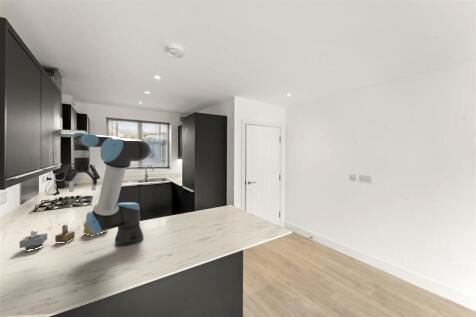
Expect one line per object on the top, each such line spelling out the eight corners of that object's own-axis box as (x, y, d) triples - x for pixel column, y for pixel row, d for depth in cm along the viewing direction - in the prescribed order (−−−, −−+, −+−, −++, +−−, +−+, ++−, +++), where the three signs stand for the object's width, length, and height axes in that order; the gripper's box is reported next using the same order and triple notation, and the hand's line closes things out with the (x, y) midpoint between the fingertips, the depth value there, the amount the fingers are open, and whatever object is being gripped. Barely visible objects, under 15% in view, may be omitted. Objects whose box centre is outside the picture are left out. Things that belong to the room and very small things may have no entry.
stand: (74, 239, 125) (74, 223, 125) (66, 243, 118) (65, 226, 118) (64, 239, 124) (64, 223, 125) (55, 243, 118) (55, 227, 118)
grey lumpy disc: (47, 238, 118) (47, 233, 118) (42, 244, 111) (42, 237, 111) (26, 242, 114) (26, 236, 114) (19, 248, 106) (19, 241, 106)
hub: (46, 245, 116) (45, 228, 116) (34, 251, 109) (33, 233, 109) (34, 246, 115) (33, 229, 116) (21, 251, 108) (21, 233, 109)
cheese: (83, 234, 132) (82, 220, 132) (100, 229, 142) (100, 215, 142) (91, 237, 127) (90, 221, 127) (108, 231, 137) (108, 217, 137)
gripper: (105, 156, 127) (106, 189, 127) (66, 158, 126) (67, 191, 125) (98, 156, 120) (99, 190, 119) (55, 158, 118) (56, 193, 118)
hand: (82, 191), depth 122 cm, fingers open, 13 cm apart
